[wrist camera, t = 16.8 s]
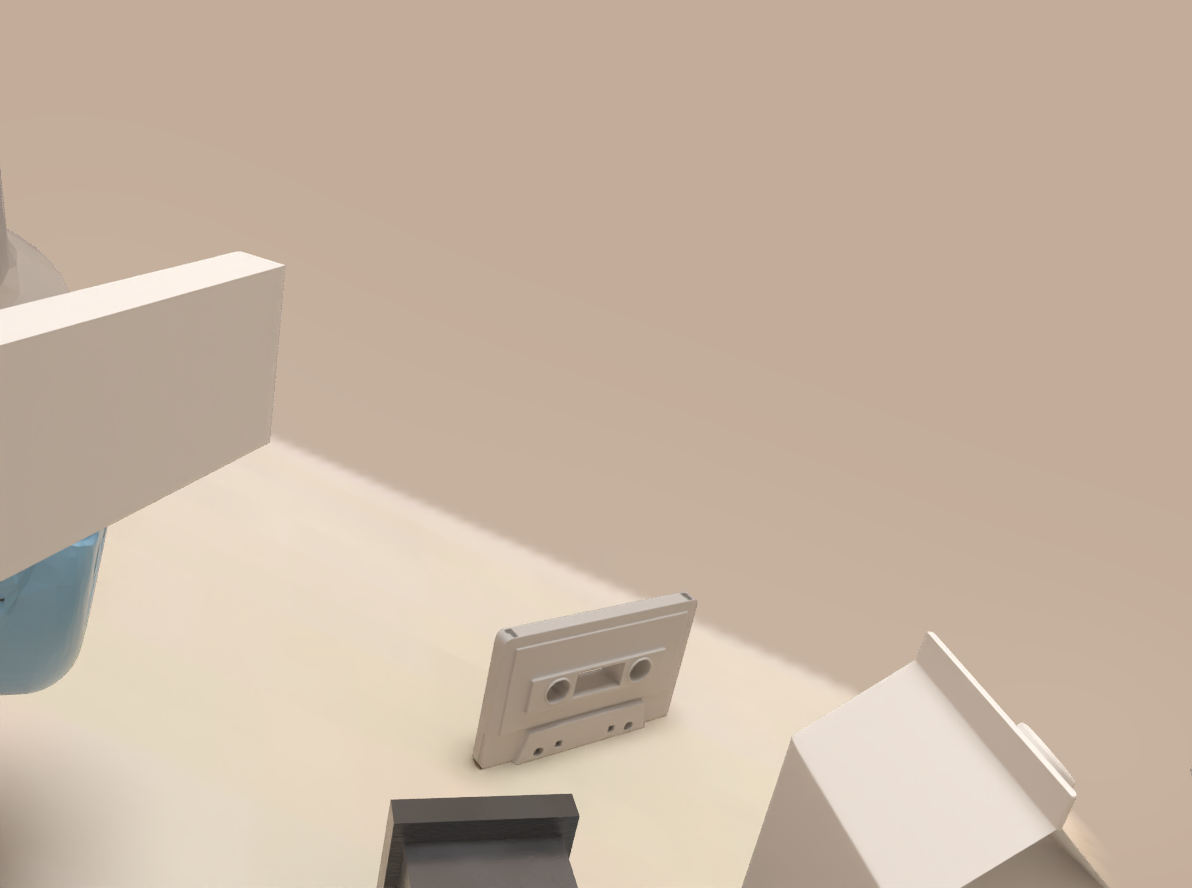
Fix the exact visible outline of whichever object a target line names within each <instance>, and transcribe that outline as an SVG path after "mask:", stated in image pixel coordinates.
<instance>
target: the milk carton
mask: <svg viewBox="0 0 1192 888" xmlns="http://www.w3.org/2000/svg"><path fill="white" fill-rule="evenodd" d="M1074 786H1075V781H1074V779H1073V777H1072V776H1071V775H1070V773H1069V772H1068V771H1067V770H1066V768H1065V767H1064V766H1063V765H1062V764H1061V763H1060V761H1059V760H1058V759H1057V758H1056V756H1055V755H1054V754H1053V753H1052V752H1051V751H1050V750H1049V748H1048V747H1047V746H1046V745H1045V744H1044V743H1043V742H1042V741H1041V739H1040V738H1039V737H1038V736H1037V735H1036V734H1035V733H1034V732H1033V731H1032V729H1031V728H1030V727H1029V726H1027V725H1025V724H1024V723H1020V724H1018V725H1017V726H1016V725H1015V724H1014V722H1013V721H1012V720H1011V719H1010V718H1009V717H1008V716H1007V715H1006V714H1005V712H1004V711H1003V710H1002V709H1001V708H1000V707H999V706H998V704H997V703H996V702H995V701H994V700H993V699H992V698H991V697H990V695H989V694H988V693H987V692H986V691H985V690H984V689H983V688H982V686H981V685H980V684H979V683H978V682H977V681H976V680H975V679H974V678H973V676H972V675H971V674H970V673H969V672H968V671H967V670H966V668H965V667H964V666H963V665H962V664H961V663H960V662H959V661H958V659H957V658H956V657H955V656H954V655H953V654H952V653H951V652H950V650H949V649H948V648H947V647H946V646H945V645H944V644H943V643H942V642H941V640H940V639H939V638H938V637H937V636H936V635H935V634H934V633H933V632H926V634H925V637H924V639H923V642H922V645H921V647H920V650H919V653H918V655H917V658H916V660H914V661H913V662H911V663H909V664H908V665H906V666H905V667H903V668H901V669H900V670H898V671H896V672H895V673H893V674H891V675H890V676H888V677H887V678H885V679H883V680H882V681H880V682H878V683H877V684H875V685H874V686H872V687H870V688H869V689H867V690H865V691H864V692H862V693H861V694H859V695H857V696H856V697H854V698H852V699H851V700H849V701H847V702H846V703H844V704H843V705H841V706H839V707H838V708H836V709H834V710H833V711H831V712H830V713H828V714H826V715H825V716H823V717H821V718H820V719H818V720H816V721H815V722H813V723H812V724H810V725H808V726H807V727H805V728H803V729H802V730H800V731H799V732H797V733H795V734H794V735H792V737H791V741H790V745H789V748H788V751H787V754H786V757H785V759H784V762H783V765H782V768H781V771H780V774H779V777H778V780H777V783H776V786H775V789H774V792H773V795H772V798H771V801H770V804H769V807H768V810H767V813H766V816H765V819H764V822H763V825H762V828H761V831H760V834H759V837H758V840H757V843H756V846H755V849H754V852H753V855H752V858H751V861H750V864H749V867H748V870H747V873H746V876H745V879H744V882H743V885H742V888H1110V887H1109V886H1108V885H1107V883H1106V882H1105V881H1104V880H1103V878H1102V877H1101V876H1100V875H1099V874H1098V872H1097V871H1096V870H1095V869H1094V867H1093V866H1092V865H1091V864H1090V862H1089V861H1088V860H1087V859H1086V857H1085V856H1084V855H1083V854H1082V853H1081V851H1080V850H1079V849H1078V848H1077V846H1076V845H1075V844H1074V843H1073V841H1072V840H1071V839H1070V838H1069V836H1068V835H1067V834H1066V833H1065V831H1064V830H1063V829H1062V827H1063V825H1064V823H1065V821H1066V819H1067V816H1068V814H1069V812H1070V810H1071V808H1072V806H1073V804H1074V801H1075V800H1076V792H1075V791H1074V790H1073V789H1072V788H1073V787H1074Z"/></svg>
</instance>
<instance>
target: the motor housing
mask: <svg viewBox="0 0 1192 888" xmlns="http://www.w3.org/2000/svg"><path fill="white" fill-rule="evenodd" d="M578 820H579V813H578V810H577V807H576V805H575V802H574V799H573V796H572V794H551V795H521V796H491V797H460V798H430V799H400V800H391V801H390V808H389V814H388V820H387V826H386V833H385V839H384V845H383V852H382V858H381V864H380V871H379V877H378V883H377V888H578V887H577V884H576V880H575V877H574V874H573V871H572V868H571V864H570V861H569V856H570V852H571V848H572V844H573V840H574V836H575V832H576V828H577V824H578Z"/></svg>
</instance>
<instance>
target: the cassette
mask: <svg viewBox="0 0 1192 888" xmlns="http://www.w3.org/2000/svg"><path fill="white" fill-rule="evenodd" d="M696 608H697V600H695V599H694V598H693V597H692V596H691V595H689V594H688V593H687V592H685V591H684V592H680V593H675V594H670V595H666V596H660V597H656V598H651V599H646V600H641V601H636V602H631V603H627V604H622V605H617V606H612V607H607V608H602V609H598V610H593V611H588V612H583V613H578V614H573V615H569V616H564V617H559V618H554V619H549V620H544V621H539V622H535V623H530V624H525V625H520V626H515V627H510V628H505V629H501V630H500V631H499V632H498V633H497V635H496V637H495V642H494V647H493V652H492V658H491V663H490V668H489V673H488V678H487V684H486V689H485V694H484V699H483V704H482V709H481V715H480V720H479V725H478V730H477V735H476V741H475V746H474V751H473V757H474V759H475V760H476V762H477V763H478V764H479V765H480V766H481V768H482V769H485V768H489V767H492V766H496V765H499V764H503V763H506V762H510V761H511V762H513V763H515V764H516V765H519V764H522V763H525V762H529V761H532V760H535V759H539V758H542V757H546V756H549V755H552V754H556V753H559V752H562V751H566V750H569V749H573V748H576V747H579V746H583V745H586V744H589V743H593V742H596V741H600V740H603V739H606V738H610V737H613V736H616V735H620V734H623V733H627V732H630V731H633V730H637V729H640V728H644V722H646V721H650V720H653V719H656V718H660V717H663V716H665V715H666V714H667V712H668V709H669V706H670V702H671V698H672V695H673V691H674V687H675V684H676V680H677V677H678V673H679V669H680V666H681V662H682V658H683V655H684V651H685V648H686V644H687V640H688V637H689V633H690V629H691V626H692V622H693V619H694V615H695V611H696ZM599 668H601V669H599ZM595 669H597V670H595ZM591 670H593V671H591ZM587 671H589V672H587ZM583 672H585V673H583ZM579 673H581V674H579Z"/></svg>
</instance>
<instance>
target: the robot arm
mask: <svg viewBox="0 0 1192 888" xmlns="http://www.w3.org/2000/svg"><path fill="white" fill-rule="evenodd" d="M284 276H285V265H283V264H280V263H276V262H273V261H270V260H266V259H263V258H260V257H257V256H254V255H250V254H247V253H244V252H241V251H238V252H234V253H230V254H226V255H221V256H217V257H213V258H209V259H205V260H201V261H197V262H193V263H189V264H185V265H181V266H176V267H172V268H168V269H164V270H160V271H156V272H152V273H148V274H144V275H139V276H135V277H131V278H127V279H123V280H119V281H115V282H111V283H107V284H103V285H98V286H95V287H90V288H87V289H82V290H78V291H74V292H70V291H69V289H68V287H67V285H66V283H65V281H64V279H63V277H62V275H61V274H60V272H59V271H58V270H57V269H56V268H55V266H54V265H53V264H52V262H51V261H50V260H49V259H48V258H47V257H46V256H45V255H43V254H42V253H41V252H40V251H39V250H38V249H37V248H36V247H35V246H33V245H32V244H30V243H29V242H27V241H26V240H24V239H23V238H21V237H20V236H19V235H17V234H15V233H13V232H12V231H10V230H8V229H6V221H5V212H4V202H3V191H2V181H1V171H0V695H17V694H28V693H33V692H37V691H40V690H43V689H45V688H47V687H49V686H51V685H53V684H54V683H56V682H57V681H58V680H60V679H61V678H62V677H63V676H64V675H65V674H66V673H67V672H68V671H69V670H70V669H71V667H72V666H73V664H74V663H75V661H76V659H77V657H78V655H79V652H80V649H81V646H82V642H83V638H84V635H85V631H86V626H87V622H88V618H89V613H90V609H91V604H92V600H93V595H94V590H95V586H96V581H97V576H98V571H99V566H100V561H101V557H102V552H103V547H104V542H105V537H106V532H107V527H108V526H109V525H111V524H113V523H115V522H117V521H119V520H121V519H123V518H125V517H127V516H129V515H131V514H133V513H134V512H136V511H138V510H140V509H142V508H144V507H146V506H148V505H150V504H152V503H154V502H156V501H158V500H160V499H161V498H163V497H165V496H167V495H169V494H171V493H173V492H175V491H177V490H179V489H181V488H183V487H185V486H187V485H189V484H190V483H192V482H194V481H196V480H198V479H200V478H202V477H204V476H206V475H208V474H210V473H212V472H214V471H216V470H218V469H219V468H221V467H223V466H225V465H227V464H229V463H231V462H233V461H235V460H237V459H239V458H241V457H243V456H245V455H246V454H248V453H250V452H252V451H254V450H256V449H258V448H260V447H262V446H264V445H266V444H268V443H270V435H271V424H272V412H273V401H274V390H275V378H276V366H277V355H278V344H279V332H280V321H281V310H282V298H283V287H284ZM1190 771H1191V775H1192V767H1191V769H1190Z"/></svg>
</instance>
